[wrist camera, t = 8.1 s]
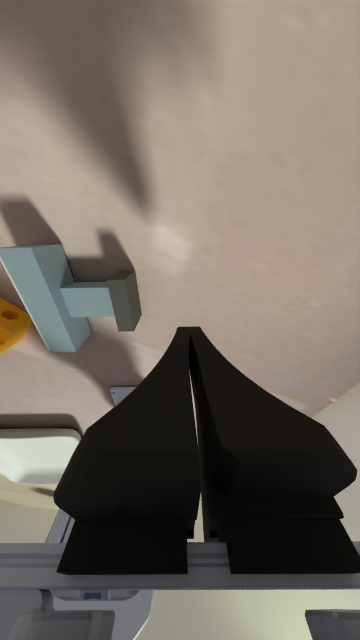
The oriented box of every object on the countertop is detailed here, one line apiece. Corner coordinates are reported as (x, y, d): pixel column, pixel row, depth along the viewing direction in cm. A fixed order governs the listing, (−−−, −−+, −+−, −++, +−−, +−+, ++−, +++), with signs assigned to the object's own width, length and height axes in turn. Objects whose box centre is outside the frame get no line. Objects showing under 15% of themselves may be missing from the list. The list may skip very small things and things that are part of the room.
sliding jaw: (144, 332, 20) (137, 351, 17) (67, 333, 20) (47, 352, 17) (131, 243, 15) (118, 246, 12) (29, 244, 15) (-10, 248, 12)
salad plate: (-29, 419, 30) (-53, 440, 27) (83, 417, 30) (73, 438, 27) (26, 466, 40) (13, 485, 37) (109, 465, 40) (104, 484, 37)
